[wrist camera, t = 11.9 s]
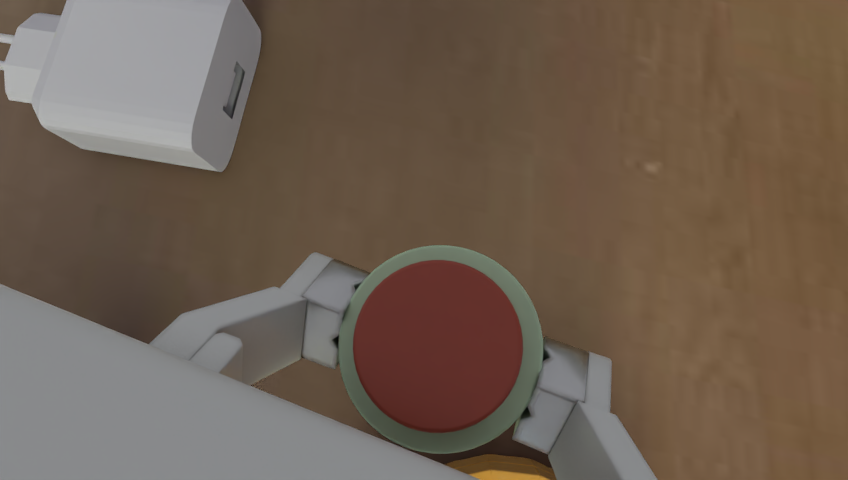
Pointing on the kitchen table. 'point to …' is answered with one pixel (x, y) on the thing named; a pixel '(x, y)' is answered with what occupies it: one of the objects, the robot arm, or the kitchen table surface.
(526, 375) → the container
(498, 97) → the kitchen table surface
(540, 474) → the bowl
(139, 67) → the charger
